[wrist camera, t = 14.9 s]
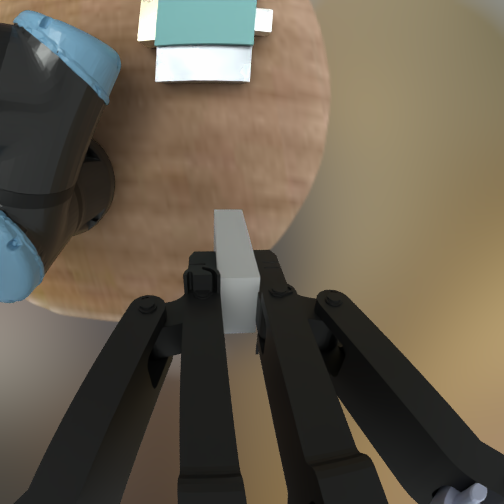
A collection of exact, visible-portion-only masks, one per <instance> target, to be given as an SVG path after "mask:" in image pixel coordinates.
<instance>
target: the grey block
mask: <svg viewBox="0 0 504 504" xmlns="http://www.w3.org/2000/svg"><path fill="white" fill-rule="evenodd" d="M251 55H252V46H245V45H176V46H161V47H157V55H156V76H155V82H159V83H164V84H172V83H235V84H243V83H247V82H250V70H251Z"/></svg>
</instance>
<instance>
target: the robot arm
mask: <svg viewBox="0 0 504 504" xmlns="http://www.w3.org/2000/svg"><path fill="white" fill-rule="evenodd" d="M13 23H14V25H10V24H4V23H0V302H4V303H14V302H16V301H22V300H23V299H25V298H26V297H28V296H29V295H30V294H31V292H32V291H33V290H34V289H35V288H36V286H38V285H39V284H40V283H41V282H42V280H43V277H44V275H45V274H46V272H47V271H48V269H49V268H50V266H51V265H52V263H53V262H54V261H55V259H56V258H57V256H58V255H59V254H60V252H61V251H62V249H63V248H64V247H65V245H66V244H67V243H68V241H69V240H70V239H71V237H72V236H75V235H78V234H80V233H83V232H85V231H87V230H89V229H91V228H92V227H93V226H95V225H96V224H97V223H98V222H99V221H100V220H101V218H102V217H103V216H104V214H105V213H106V212H107V210H108V208H109V207H110V204H111V202H112V199H113V195H114V188H115V179H114V172H113V168H112V165H111V162H110V160H109V158H108V156H107V155H106V153H105V151H104V150H103V149H102V148H101V147H100V145H99V144H97V143H96V142H95V141H94V140H92V137H93V134H94V132H95V129H96V127H97V124H98V122H99V119H100V117H101V115H102V112H103V110H104V108H105V105H108V103H109V95H110V93H111V91H112V88H113V86H114V84H115V81H116V79H117V77H118V74H119V72H120V68H121V61H120V58H119V55H118V54H117V52H116V51H115V50H114V49H112V48H111V47H110V46H108V45H107V44H105V43H104V42H102V41H100V40H99V39H97V38H95V37H93V36H92V35H90V34H88V33H86V32H84V31H82V30H80V29H78V28H76V27H74V26H72V25H69V24H67V23H65V22H62V21H60V20H56V19H53V18H51V17H48V16H45V15H43V14H41V13H38V12H35V11H30V10H25V11H23V12H21V13H20V14H19V15H18V16H17V17H16V18H15V19H14V21H13ZM183 279H184V292H185V294H184V295H183V296H182V297H181V298H179V299H178V300H175V301H172V302H168V303H165V302H164V300H162V299H161V298H160V297H157V296H151V295H147V296H142V297H139V298H137V299H135V300H134V301H133V302H132V303H131V304H130V306H129V307H128V309H127V310H126V312H125V313H124V315H123V317H122V318H121V320H120V321H119V323H118V325H117V326H116V328H115V330H114V331H113V333H112V334H111V336H110V337H109V339H108V341H107V343H106V344H105V346H104V347H103V349H102V350H101V352H100V354H99V356H98V357H97V359H96V361H95V362H94V364H93V366H92V367H91V369H90V371H89V372H88V374H87V376H86V378H85V380H84V381H83V383H82V385H81V386H80V388H79V390H78V392H77V393H76V395H75V397H74V399H73V401H72V402H71V404H70V406H69V408H68V410H67V412H66V414H65V415H64V417H63V419H62V421H61V423H60V425H59V427H58V429H57V431H56V433H55V435H54V437H53V438H52V441H51V443H50V444H49V446H48V449H47V451H46V453H45V455H44V457H43V459H42V461H41V463H40V465H39V467H38V469H37V471H36V474H35V476H34V478H33V480H32V482H31V485H30V487H29V489H28V490H27V491H26V492H25V493H24V494H23V495H22V496H21V497H20V498H19V499H18V500H17V501H16V502H15V503H14V504H120V502H121V499H122V496H123V493H124V490H125V487H126V484H127V481H128V478H129V475H130V473H131V469H132V467H133V464H134V461H135V458H136V455H137V452H138V450H139V447H140V444H141V442H142V439H143V436H144V433H145V431H146V428H147V425H148V422H149V420H150V417H151V414H152V412H153V409H154V406H155V403H156V401H157V398H158V395H159V393H160V390H161V387H162V385H163V382H164V380H165V377H166V375H167V372H168V370H169V367H170V365H171V362H172V359H173V355H177V354H181V373H180V374H181V375H180V475H179V478H178V504H247V503H246V496H245V489H244V484H243V478H242V475H241V473H240V467H239V460H238V452H237V445H236V438H235V429H234V421H233V413H232V404H231V395H230V387H229V377H228V368H227V358H226V349H225V338H224V334H230V333H254V332H255V329H256V326H257V330H258V335H257V344H256V354H258V352H259V355H260V360H261V365H262V369H263V375H264V380H265V385H266V389H267V394H268V399H269V404H270V409H271V413H272V419H273V424H274V428H275V433H276V438H277V443H278V447H279V452H280V457H281V462H282V466H283V471H284V475H285V480H286V485H287V490H288V504H388V501H387V499H386V496H385V493H384V490H383V487H382V485H381V482H380V480H379V477H378V474H377V471H376V469H375V466H374V464H373V462H372V460H371V458H370V457H369V456H367V455H366V454H363V453H360V452H359V451H358V450H357V448H356V445H355V442H354V440H353V437H352V434H351V432H350V429H349V426H348V423H347V421H346V418H345V415H344V413H343V410H342V407H341V405H340V402H339V399H340V400H341V402H342V403H343V404H344V406H345V407H346V409H347V410H348V412H349V413H350V414H351V416H352V417H353V419H354V420H355V421H356V423H357V424H358V426H359V427H360V428H361V430H362V431H363V433H364V434H365V435H366V437H367V438H368V440H369V441H370V442H371V444H372V445H373V447H374V448H375V449H376V451H377V452H378V454H379V455H380V456H381V458H382V459H383V460H384V462H385V463H386V465H387V466H388V468H389V469H390V470H391V472H392V473H393V474H394V476H395V477H396V479H397V480H398V481H399V483H400V484H401V485H402V487H403V488H404V489H405V490H406V491H407V493H408V494H409V495H410V496H411V497H412V498H413V499H414V500H415V501H416V502H417V503H418V504H504V455H503V454H502V453H500V452H498V451H497V450H495V449H493V448H491V447H490V446H488V445H486V444H485V443H483V442H481V441H480V440H479V439H478V437H477V436H476V435H475V434H474V433H473V432H472V430H471V429H470V428H469V427H468V426H467V425H466V424H465V422H464V421H463V420H462V419H461V418H460V417H459V415H458V414H457V413H456V412H455V411H454V410H453V409H452V408H451V406H450V405H449V404H448V403H447V402H446V401H445V400H444V399H443V397H441V395H440V394H439V393H438V392H437V391H436V390H435V389H434V387H433V386H432V385H431V384H430V383H429V382H428V381H427V380H426V379H425V378H424V376H423V375H422V374H421V373H420V372H419V371H418V370H417V369H416V368H415V367H414V366H413V365H412V364H411V362H410V361H409V360H408V359H407V358H406V357H405V356H404V355H403V354H402V353H401V352H400V351H399V350H398V348H396V346H395V345H394V344H393V343H392V342H391V341H390V340H389V339H388V338H387V337H386V336H385V335H384V334H383V333H382V332H381V331H380V330H379V329H378V327H377V326H376V325H375V324H374V323H373V322H372V321H371V320H370V319H369V318H368V317H367V316H366V315H365V314H364V313H363V312H362V311H361V310H360V309H359V308H358V307H357V306H356V305H355V304H354V303H353V302H352V301H351V300H350V299H349V298H348V297H347V296H346V295H345V294H343V293H341V292H338V291H335V290H324V291H322V292H320V293H319V294H318V295H317V298H316V299H315V298H308V297H303V296H300V295H298V294H297V292H296V290H295V289H294V288H293V287H292V286H290V285H289V284H287V282H286V280H285V277H284V274H283V272H282V269H281V268H280V264H279V262H278V259H277V257H276V255H275V254H274V253H273V252H271V251H270V250H253V249H252V245H251V241H250V238H249V234H248V230H247V227H246V223H245V219H244V216H243V212H242V210H214V251H205V252H193V254H192V255H191V256H190V257H189V267H188V269H187V270H186V271H185V272H184V275H183ZM337 396H338V397H339V399H338V397H337Z"/></svg>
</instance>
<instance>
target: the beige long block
mask: <svg viewBox="0 0 504 504" xmlns="http://www.w3.org/2000/svg"><path fill="white" fill-rule="evenodd" d="M157 8H158V0H141V8H140V18H139V29H138V42H139V43H141V44H142V45H144V46H145V47H147V48H157V47H156V46H154V43H155V30H156V18H157ZM272 16H273V10H271V9H262V8H256V17H255V31H254V35H258V36H268V35H269V34H270V33H271V31H272Z"/></svg>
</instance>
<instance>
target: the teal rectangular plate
mask: <svg viewBox="0 0 504 504" xmlns="http://www.w3.org/2000/svg"><path fill="white" fill-rule="evenodd" d="M256 3H257V0H158V8H157V18H156V30H155V43H154V46H156V47H161V46H176V45H245V46H253V45H254V31H255V17H256Z"/></svg>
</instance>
